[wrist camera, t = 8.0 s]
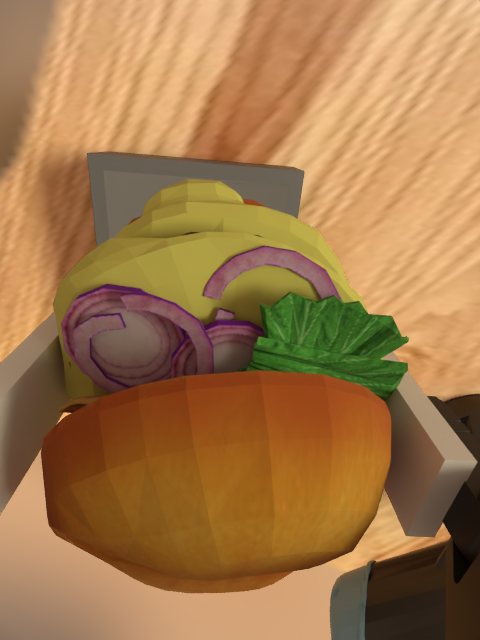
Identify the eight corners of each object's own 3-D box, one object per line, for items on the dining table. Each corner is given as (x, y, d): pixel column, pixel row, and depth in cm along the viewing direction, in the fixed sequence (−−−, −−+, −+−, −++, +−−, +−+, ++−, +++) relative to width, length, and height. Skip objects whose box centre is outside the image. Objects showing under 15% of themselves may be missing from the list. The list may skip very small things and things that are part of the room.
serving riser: (272, 326, 36) (277, 352, 32) (122, 317, 35) (106, 343, 31) (293, 166, 29) (304, 171, 25) (109, 151, 29) (86, 153, 24)
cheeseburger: (353, 138, 11) (670, 399, 4) (337, 365, 18) (432, 616, 10) (40, 190, 11) (-290, 529, 4) (143, 393, 18) (98, 656, 11)
